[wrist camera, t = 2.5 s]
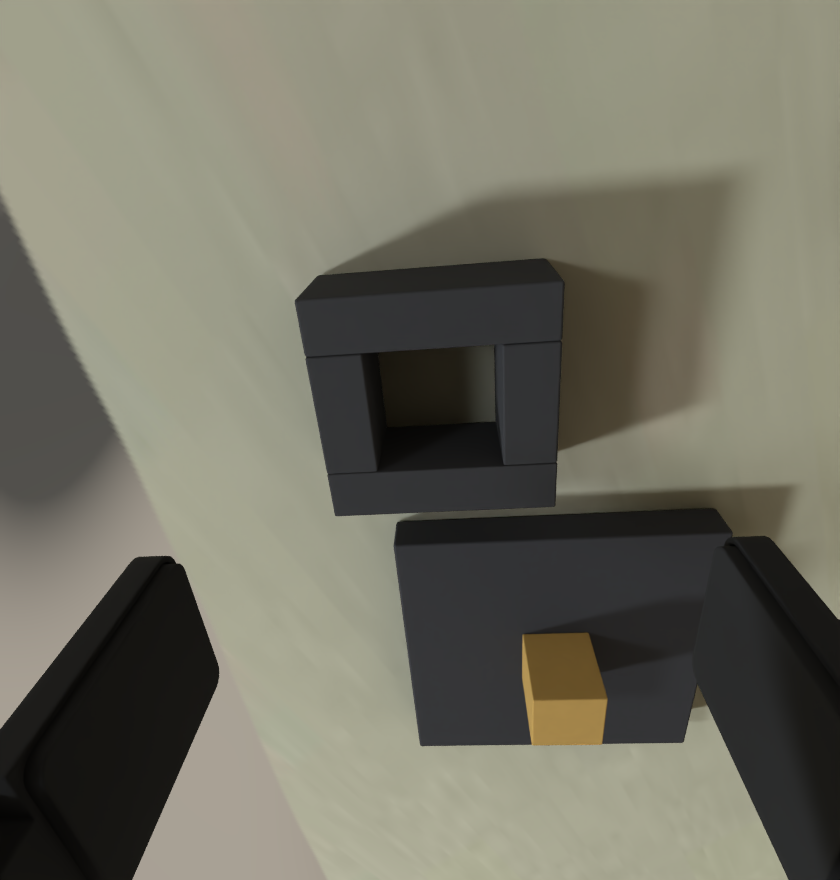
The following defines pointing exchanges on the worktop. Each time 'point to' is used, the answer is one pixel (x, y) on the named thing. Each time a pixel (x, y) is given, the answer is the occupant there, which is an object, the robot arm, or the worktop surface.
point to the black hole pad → (429, 327)
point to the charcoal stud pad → (555, 625)
